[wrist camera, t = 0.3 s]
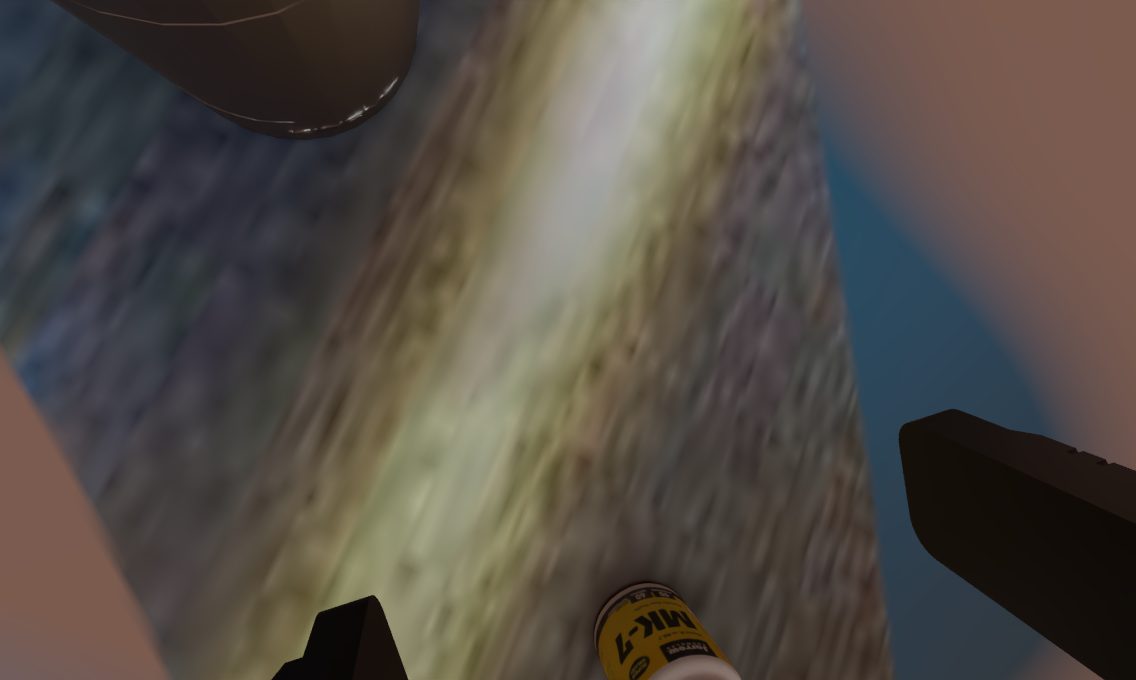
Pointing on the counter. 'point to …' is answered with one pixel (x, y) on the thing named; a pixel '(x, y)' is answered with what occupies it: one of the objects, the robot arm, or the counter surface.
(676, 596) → the supplement bottle
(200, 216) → the counter surface
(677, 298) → the counter surface
